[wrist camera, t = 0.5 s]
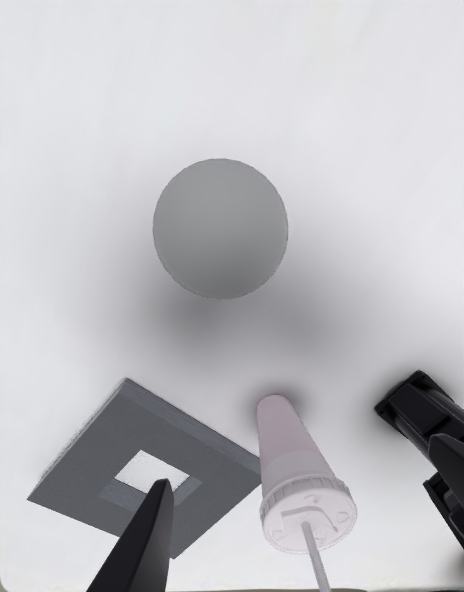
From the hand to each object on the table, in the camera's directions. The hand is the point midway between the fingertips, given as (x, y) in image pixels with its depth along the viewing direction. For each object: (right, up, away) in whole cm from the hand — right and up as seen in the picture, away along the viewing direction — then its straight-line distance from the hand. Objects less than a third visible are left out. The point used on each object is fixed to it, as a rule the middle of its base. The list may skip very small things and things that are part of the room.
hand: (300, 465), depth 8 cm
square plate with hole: (-11, -14, +17) cm, 24 cm away
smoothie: (+2, -6, +16) cm, 18 cm away
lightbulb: (-3, +11, +11) cm, 16 cm away
